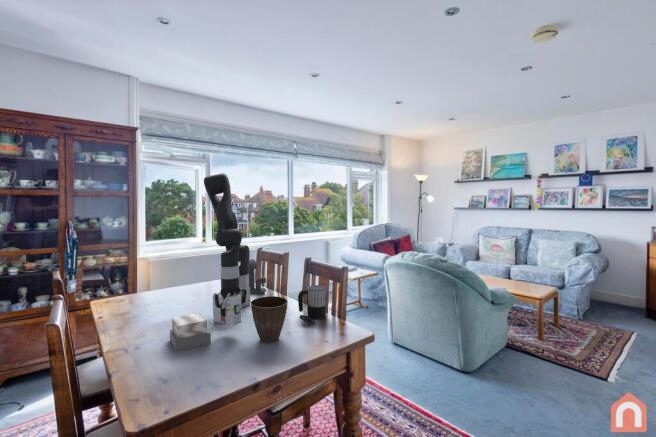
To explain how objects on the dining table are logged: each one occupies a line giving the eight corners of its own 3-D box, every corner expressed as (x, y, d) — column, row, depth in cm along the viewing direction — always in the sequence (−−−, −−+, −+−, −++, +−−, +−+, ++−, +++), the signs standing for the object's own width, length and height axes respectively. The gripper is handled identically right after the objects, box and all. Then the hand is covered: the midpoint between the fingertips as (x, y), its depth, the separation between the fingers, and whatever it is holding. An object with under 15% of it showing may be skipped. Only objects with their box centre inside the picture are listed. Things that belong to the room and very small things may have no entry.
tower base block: (202, 334, 144) (202, 322, 144) (210, 345, 133) (210, 332, 133) (169, 341, 137) (169, 329, 137) (175, 353, 126) (175, 340, 126)
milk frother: (324, 313, 169) (324, 284, 168) (331, 324, 154) (331, 292, 153) (296, 315, 166) (296, 286, 165) (300, 327, 151) (300, 294, 150)
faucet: (268, 287, 219) (267, 257, 217) (265, 294, 203) (264, 261, 202) (240, 287, 218) (239, 257, 216) (234, 294, 202) (234, 262, 201)
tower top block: (200, 324, 142) (199, 312, 142) (207, 332, 134) (207, 320, 133) (172, 329, 136) (172, 317, 136) (177, 339, 127) (177, 326, 127)
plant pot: (294, 335, 141) (294, 298, 140) (275, 350, 127) (274, 309, 126) (265, 330, 147) (264, 294, 146) (243, 343, 133) (242, 304, 133)
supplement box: (235, 318, 162) (234, 292, 161) (225, 323, 155) (225, 297, 154) (222, 316, 164) (221, 291, 163) (212, 321, 157) (212, 295, 156)
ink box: (220, 321, 143) (219, 294, 142) (230, 317, 147) (229, 291, 146) (232, 326, 137) (231, 298, 137) (242, 322, 141) (241, 295, 140)
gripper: (243, 272, 148) (244, 309, 149) (210, 276, 140) (211, 315, 141) (249, 275, 142) (250, 314, 143) (215, 280, 134) (216, 321, 135)
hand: (230, 314), depth 142 cm, fingers closed on ink box, 5 cm apart
